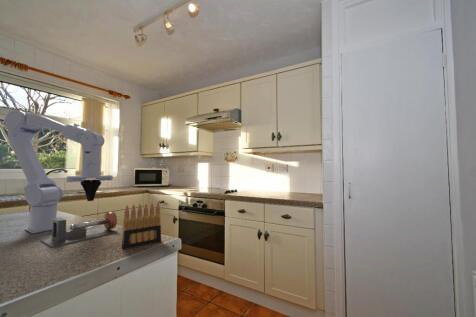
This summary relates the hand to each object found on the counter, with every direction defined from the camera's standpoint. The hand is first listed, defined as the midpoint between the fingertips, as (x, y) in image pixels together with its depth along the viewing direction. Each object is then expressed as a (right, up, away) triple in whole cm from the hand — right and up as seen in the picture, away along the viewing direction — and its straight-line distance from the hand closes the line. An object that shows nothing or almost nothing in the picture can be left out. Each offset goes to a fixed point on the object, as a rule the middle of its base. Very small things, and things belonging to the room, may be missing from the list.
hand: (90, 200), depth 82 cm
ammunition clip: (+26, -10, -17) cm, 33 cm away
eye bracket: (+3, -10, -10) cm, 14 cm away
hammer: (+5, -10, -6) cm, 13 cm away
